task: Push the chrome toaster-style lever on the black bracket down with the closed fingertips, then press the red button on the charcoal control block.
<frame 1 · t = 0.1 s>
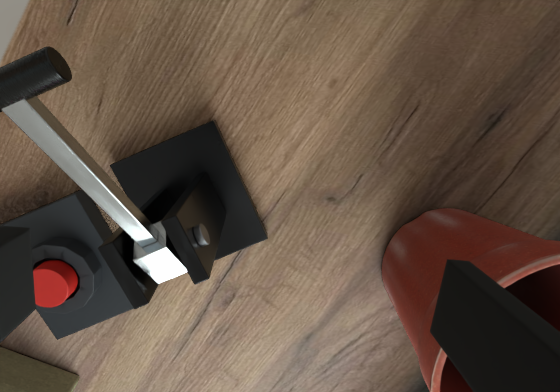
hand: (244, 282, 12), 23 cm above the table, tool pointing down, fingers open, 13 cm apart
bracket: (194, 199, 35), on the table
button: (51, 283, 31), point 5 cm above the table, slide at 0.2 cm
button block: (76, 260, 36), on the table
flower pot: (438, 261, 38), on the table
lever: (104, 191, 19), point 15 cm above the table, hinge at 28.0°
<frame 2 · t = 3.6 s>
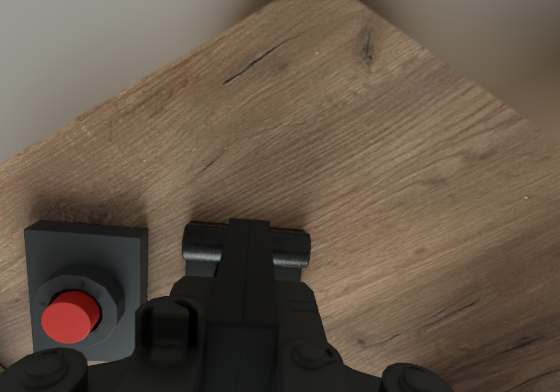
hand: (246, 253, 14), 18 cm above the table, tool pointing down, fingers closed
bracket: (242, 286, 34), on the table
button: (71, 316, 29), point 5 cm above the table, slide at 0.2 cm
button block: (96, 287, 33), on the table
lever: (239, 333, 19), point 14 cm above the table, hinge at 22.2°
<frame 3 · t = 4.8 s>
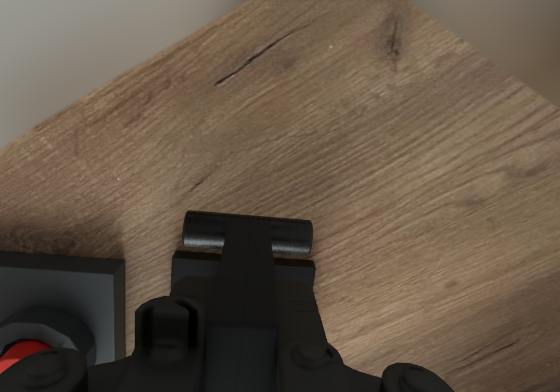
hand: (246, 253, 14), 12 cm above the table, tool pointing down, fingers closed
bracket: (239, 327, 28), on the table
button: (26, 373, 23), point 5 cm above the table, slide at 0.2 cm
button block: (63, 328, 27), on the table
lever: (236, 375, 16), point 11 cm above the table, hinge at -6.1°, touching gripper
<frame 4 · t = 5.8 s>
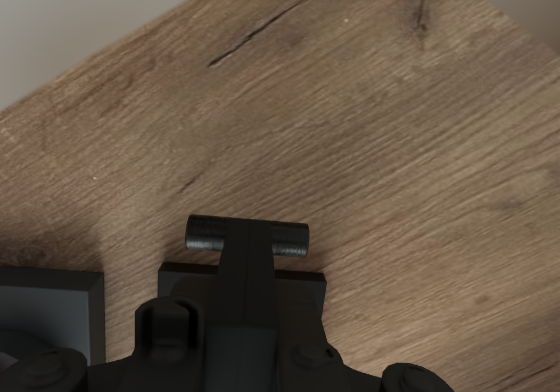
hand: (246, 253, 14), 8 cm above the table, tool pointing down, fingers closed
bracket: (237, 349, 24), on the table
button block: (33, 352, 24), on the table
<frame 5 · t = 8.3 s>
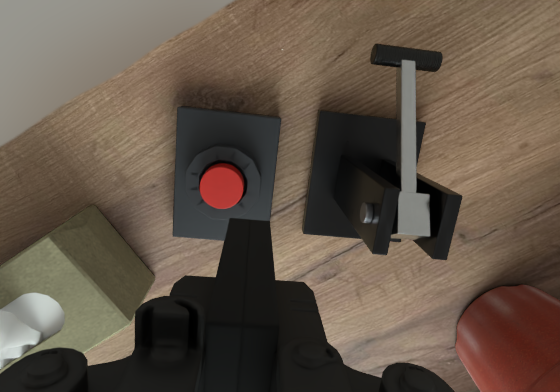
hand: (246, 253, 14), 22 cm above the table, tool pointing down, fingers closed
bracket: (359, 177, 36), on the table
button: (222, 185, 31), point 5 cm above the table, slide at 0.2 cm
button block: (226, 174, 36), on the table
flower pot: (504, 328, 42), on the table
tissue box: (56, 286, 38), on the table
lever: (405, 137, 26), point 9 cm above the table, hinge at -27.7°
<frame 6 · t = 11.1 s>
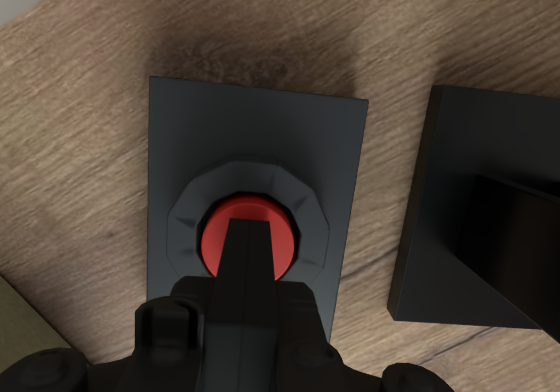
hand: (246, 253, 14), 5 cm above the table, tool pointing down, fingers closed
bracket: (498, 214, 19), on the table
button: (248, 239, 15), point 4 cm above the table, slide at -0.7 cm, touching gripper
button block: (250, 211, 19), on the table
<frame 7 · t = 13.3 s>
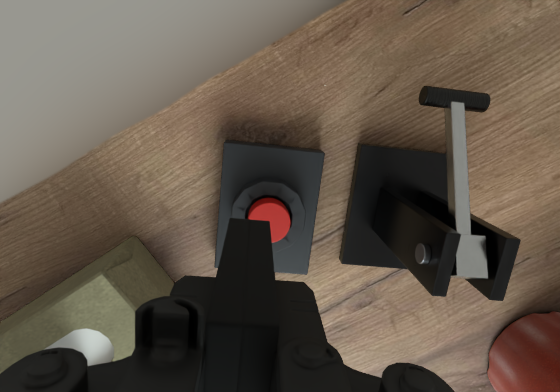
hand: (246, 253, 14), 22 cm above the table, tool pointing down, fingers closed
bracket: (396, 208, 37), on the table
button: (268, 220, 32), point 5 cm above the table, slide at 0.1 cm
button block: (267, 205, 36), on the table
flower pot: (535, 354, 43), on the table
tissue box: (94, 316, 38), on the table
lever: (457, 178, 27), point 9 cm above the table, hinge at -27.7°
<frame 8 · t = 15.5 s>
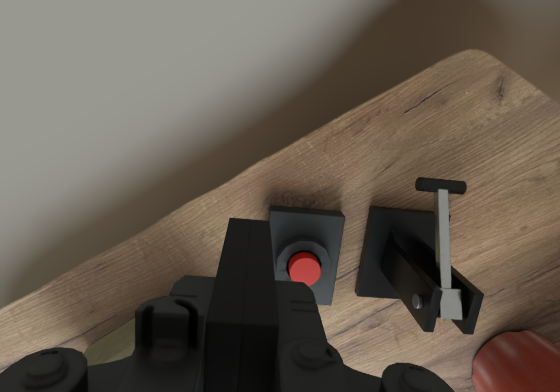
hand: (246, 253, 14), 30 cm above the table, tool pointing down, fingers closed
bracket: (399, 253, 48), on the table
button: (304, 268, 43), point 5 cm above the table, slide at 0.1 cm
button block: (300, 252, 47), on the table
flower pot: (510, 363, 54), on the table
tissue box: (166, 336, 49), on the table
lever: (442, 245, 38), point 9 cm above the table, hinge at -27.7°
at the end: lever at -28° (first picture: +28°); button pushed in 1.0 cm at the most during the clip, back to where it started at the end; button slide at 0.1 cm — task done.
